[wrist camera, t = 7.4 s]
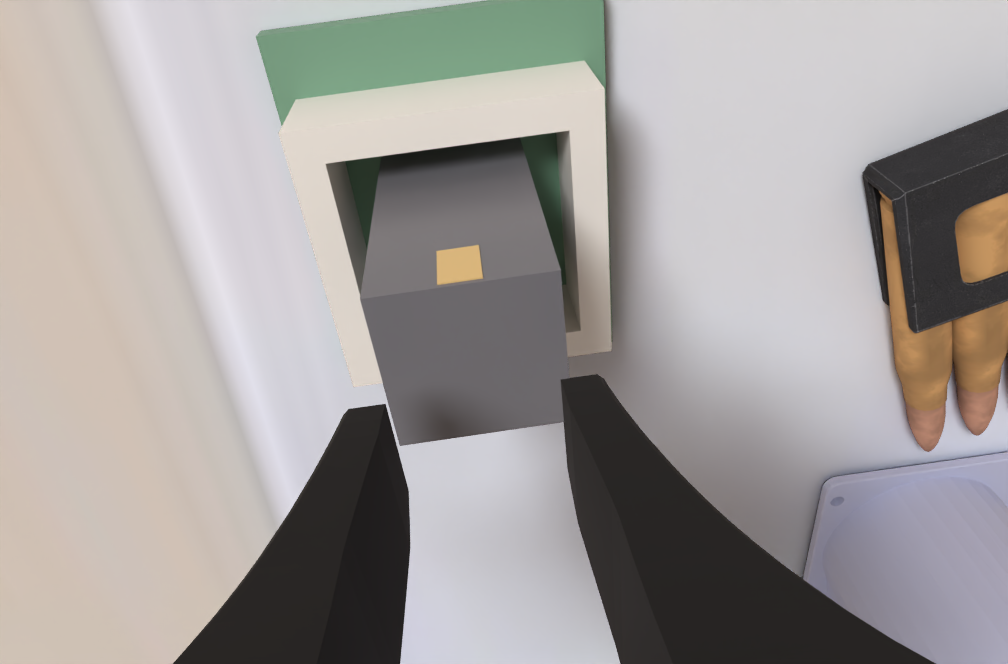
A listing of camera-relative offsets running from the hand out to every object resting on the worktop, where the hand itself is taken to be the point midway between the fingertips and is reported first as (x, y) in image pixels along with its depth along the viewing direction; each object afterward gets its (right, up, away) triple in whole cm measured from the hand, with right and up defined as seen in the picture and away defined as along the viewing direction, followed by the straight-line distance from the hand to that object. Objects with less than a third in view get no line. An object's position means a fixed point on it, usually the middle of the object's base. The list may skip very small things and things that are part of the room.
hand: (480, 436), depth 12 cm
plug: (-1, +5, +7) cm, 9 cm away
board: (-1, +5, +8) cm, 9 cm away
